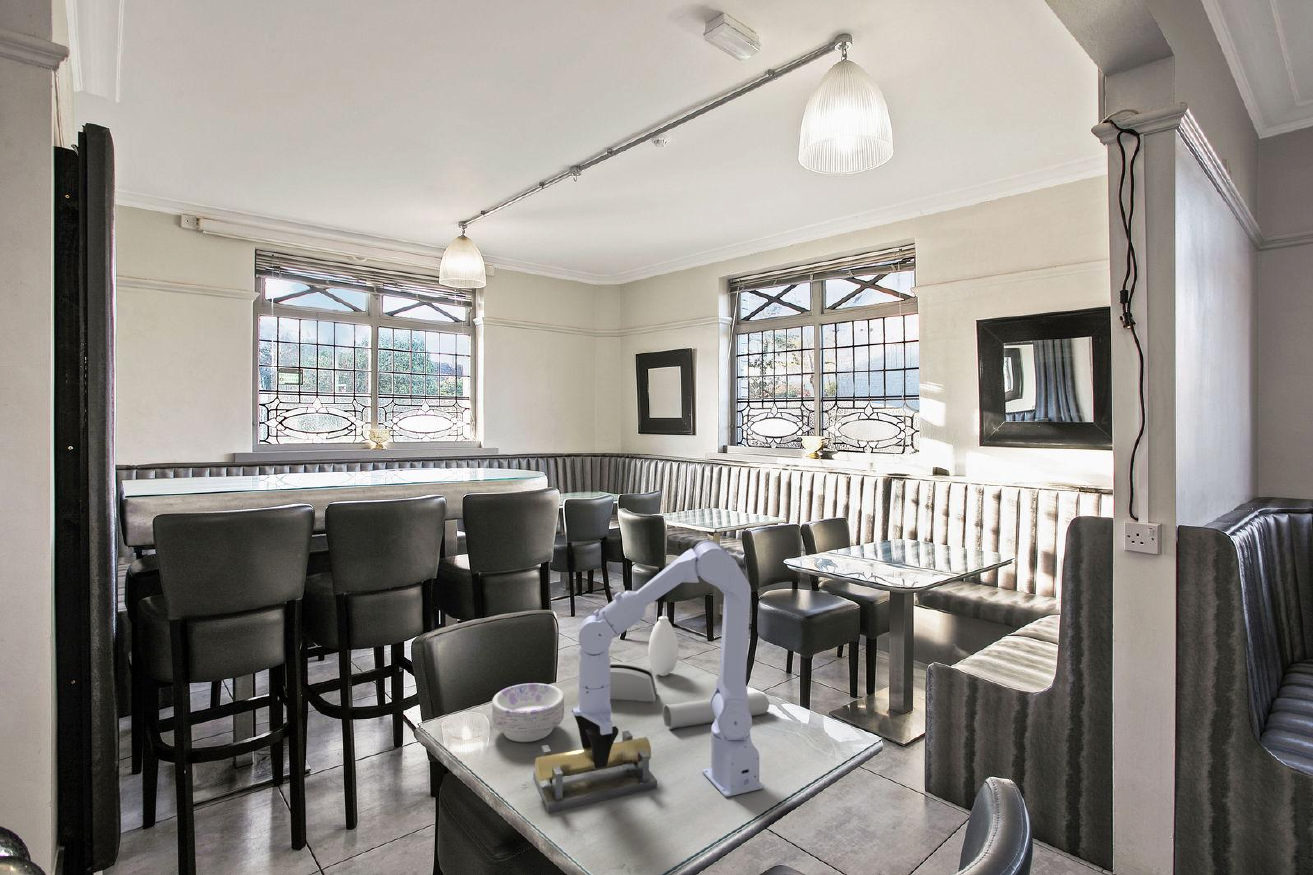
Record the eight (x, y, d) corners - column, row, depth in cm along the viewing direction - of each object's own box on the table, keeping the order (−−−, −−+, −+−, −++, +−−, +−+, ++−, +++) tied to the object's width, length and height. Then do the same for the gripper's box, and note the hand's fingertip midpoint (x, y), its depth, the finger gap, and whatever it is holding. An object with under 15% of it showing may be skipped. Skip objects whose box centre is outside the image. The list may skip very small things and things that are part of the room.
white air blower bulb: (644, 671, 178) (644, 604, 178) (671, 668, 181) (671, 602, 181) (654, 681, 171) (654, 612, 171) (682, 678, 174) (682, 609, 174)
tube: (760, 689, 157) (661, 703, 148) (771, 690, 152) (670, 704, 143) (763, 714, 155) (664, 729, 146) (774, 715, 151) (672, 731, 142)
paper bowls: (509, 757, 132) (509, 717, 132) (481, 728, 144) (481, 692, 144) (577, 736, 141) (577, 699, 141) (544, 711, 153) (544, 677, 153)
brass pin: (643, 754, 128) (643, 733, 128) (651, 763, 124) (650, 742, 124) (535, 776, 120) (535, 753, 120) (540, 786, 116) (539, 763, 116)
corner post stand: (657, 788, 120) (657, 755, 120) (548, 812, 113) (548, 777, 112) (633, 758, 131) (633, 728, 131) (533, 778, 124) (533, 746, 124)
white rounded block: (658, 693, 164) (656, 660, 160) (655, 707, 159) (653, 673, 156) (592, 689, 166) (589, 656, 163) (588, 702, 162) (584, 669, 158)
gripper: (563, 672, 127) (563, 743, 127) (584, 701, 113) (584, 780, 114) (598, 667, 130) (598, 737, 130) (623, 695, 116) (623, 772, 116)
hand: (594, 756), depth 122 cm, fingers open, 7 cm apart
